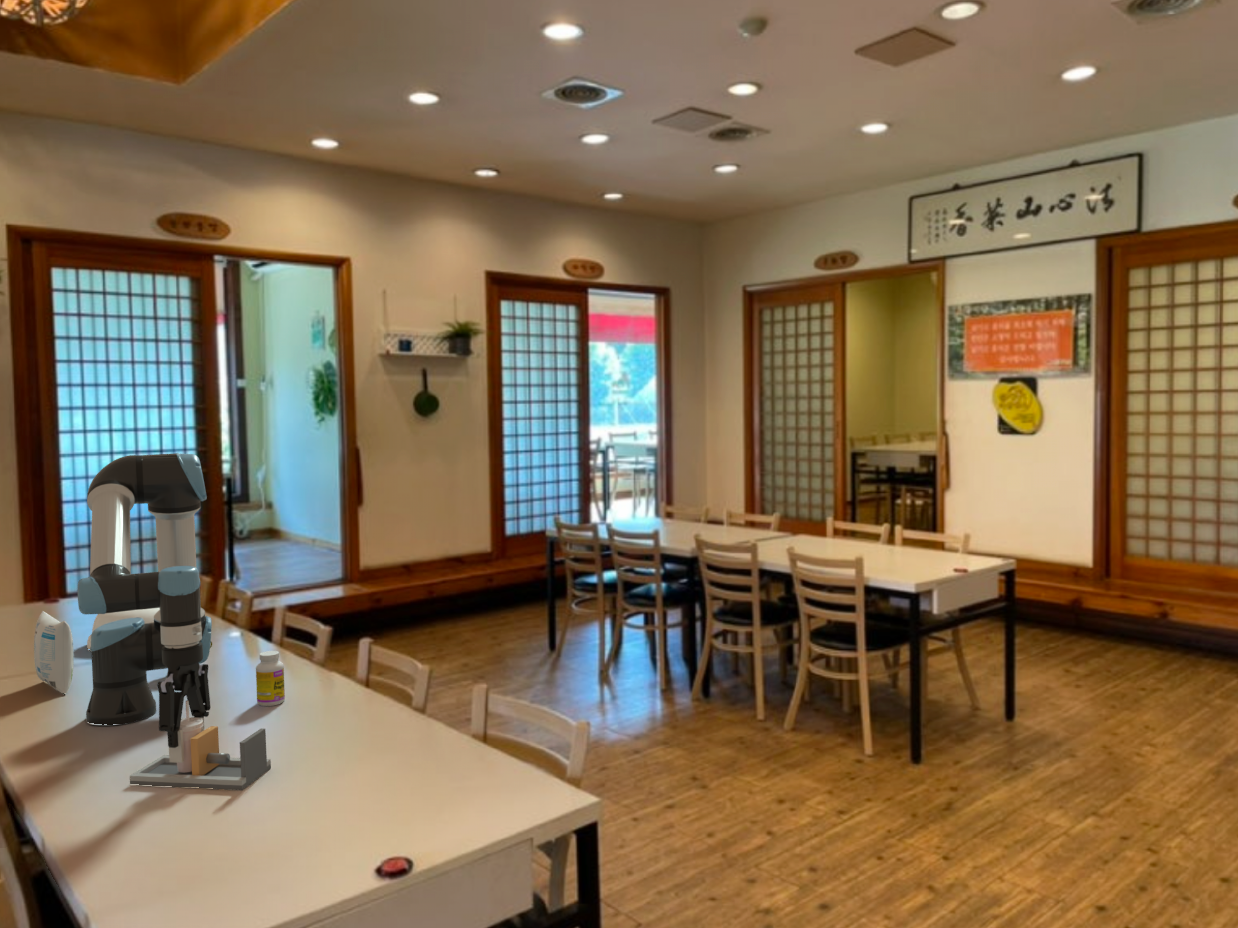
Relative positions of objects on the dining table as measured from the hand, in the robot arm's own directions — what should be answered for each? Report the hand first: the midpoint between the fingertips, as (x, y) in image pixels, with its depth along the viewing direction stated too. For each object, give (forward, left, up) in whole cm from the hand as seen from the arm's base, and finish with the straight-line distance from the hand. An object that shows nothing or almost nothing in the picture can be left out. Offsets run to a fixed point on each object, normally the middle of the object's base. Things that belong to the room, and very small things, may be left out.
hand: (187, 755), depth 188 cm
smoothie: (0, 0, -3) cm, 3 cm away
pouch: (-73, +53, -5) cm, 90 cm away
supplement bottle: (-7, +46, -5) cm, 47 cm away
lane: (+3, 0, -5) cm, 5 cm away
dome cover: (-83, +101, -5) cm, 131 cm away
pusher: (+6, 0, -3) cm, 7 cm away
